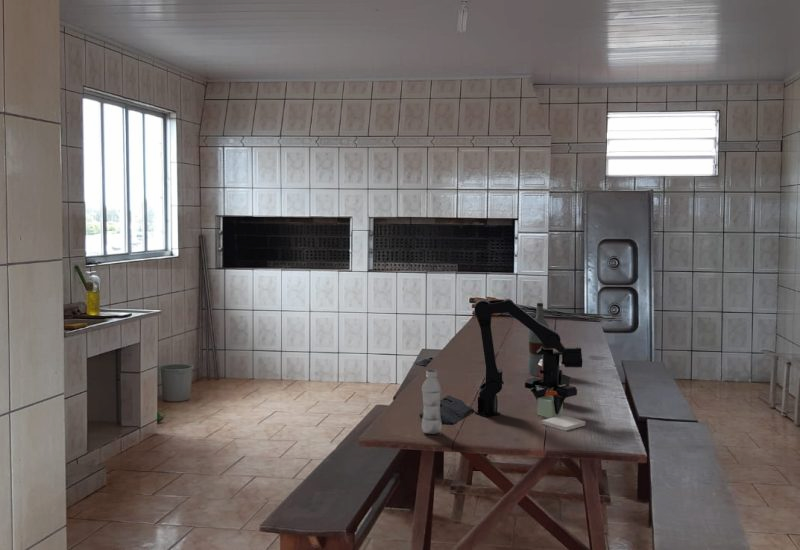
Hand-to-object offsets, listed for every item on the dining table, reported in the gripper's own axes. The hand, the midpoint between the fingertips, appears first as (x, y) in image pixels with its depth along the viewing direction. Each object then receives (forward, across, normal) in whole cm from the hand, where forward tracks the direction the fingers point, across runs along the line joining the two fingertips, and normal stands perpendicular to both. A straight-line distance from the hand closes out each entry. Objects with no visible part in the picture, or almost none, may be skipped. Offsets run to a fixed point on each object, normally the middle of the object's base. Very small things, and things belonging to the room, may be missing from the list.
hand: (549, 412), depth 278 cm
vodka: (+1, +45, -46) cm, 64 cm away
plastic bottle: (+1, +10, +45) cm, 46 cm away
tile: (+1, -10, +5) cm, 11 cm away
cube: (+1, 0, 0) cm, 1 cm away
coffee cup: (+1, +13, -15) cm, 20 cm away
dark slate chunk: (+2, +23, +27) cm, 36 cm away
